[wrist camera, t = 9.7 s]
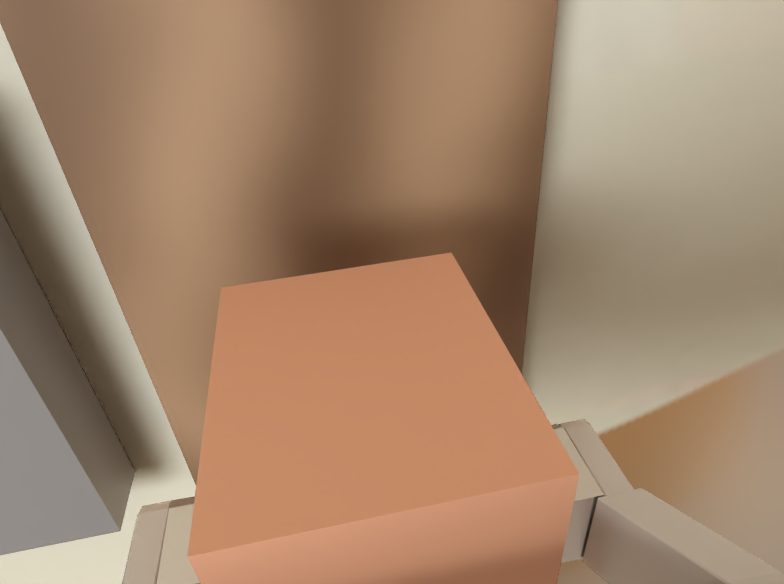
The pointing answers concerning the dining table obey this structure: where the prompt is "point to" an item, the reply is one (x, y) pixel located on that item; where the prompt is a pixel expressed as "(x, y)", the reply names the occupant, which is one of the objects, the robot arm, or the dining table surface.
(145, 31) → the walnut board
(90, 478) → the pocket plate
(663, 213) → the dining table surface
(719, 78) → the dining table surface
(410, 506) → the terracotta block
